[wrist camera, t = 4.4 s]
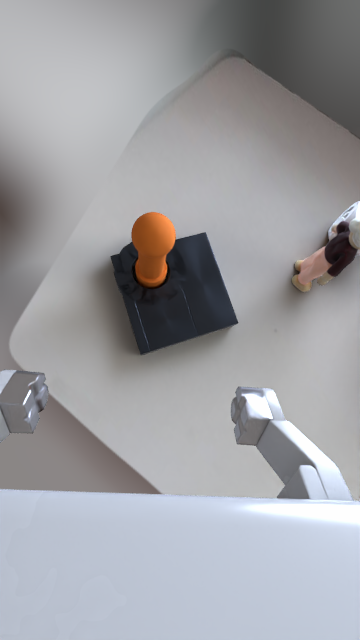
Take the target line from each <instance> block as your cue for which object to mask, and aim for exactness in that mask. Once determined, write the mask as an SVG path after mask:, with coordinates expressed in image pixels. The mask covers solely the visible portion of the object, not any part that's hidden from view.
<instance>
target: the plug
mask: <svg viewBox="0 0 360 640" xmlns="http://www.w3.org/2000/svg"><path fill="white" fill-rule="evenodd" d="M175 238H176V234H175V229H174V226H173V224H172V222H171V221H170V220H169V219H168V218H167V217H166V216H164V215H162V214H160V213H156V212H150V213H146V214H144V215H142V216H140V217H139V218H138V219H137V220H136V222H135V223H134V225H133V228H132V241H133V244H134V246H135V248H136V249H137V251H138V258H139V259H138V260H137V262H136V266H135V269H136V279H137V282H138V284H139V285H140V286H142V287H144V288H146V289H156V288H159V287H161V286H162V285H163V283H164V281H165V277H166V273H167V265H166V262H165V260H166V255H167V254H168V253H169V252H170V250H171V249H172V248H173V246H174V243H175Z"/></svg>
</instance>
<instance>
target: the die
mask: <svg viewBox="0 0 360 640" xmlns="http://www.w3.org/2000/svg"><path fill="white" fill-rule="evenodd" d="M359 217H360V201H359V202H356V203H355V204H353V205H352V206H351V207H349V208H348V209H347V210H346V211H345V212H344V213H343V214H342V215H341V216H340V217H339V218H338V219H337V220H336V221H335V222H334V224H338V223H340V222H341V221H347V222H349V223H350V222H351V220H353V219H354V218H359ZM334 224H333V225H334ZM333 225H332V226H333ZM332 226H331V227H332ZM331 227H330V229H329V232H328V234H329V240H331V239H333V238H334V237H335V236H337V233H333V232H332V231H331ZM357 255H360V250H359V249H358V251H357V253H356V256H357Z"/></svg>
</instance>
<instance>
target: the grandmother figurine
mask: <svg viewBox="0 0 360 640" xmlns="http://www.w3.org/2000/svg"><path fill="white" fill-rule="evenodd" d="M331 231H332V232H333V233H337V236H335V237H334V238H333V239H331V240H330V241H329V242H328V243H327V245H326V246H325V247H323V248H321V249H320V250H318V251H316V252H315V253H313V254H312V255H311V256H309V257H308V258H306V259H305V260H298V261H296V263H295V269H296V270H297V271H299V272H301V273H300V274H299V275H294V276H293V278H292V283H293V284H294V285H295V286H296V287H297V288H298V289H299V290H300V291H302V292H307V291H309V290H310V288H311V285H312V283H311V281H312V280H313V279H316V278H318V277H319V278H318V279H317V283H318V284H319V285H321V286H322V285H325V284H326V283H327V282H328V281H330V280H331V279H333V278H334V277H336V276H337V275H338V274H339V273H340V272H341V271H342V270H343V269H344V268H345V267H346V266H347V265H349V264H350V263H351V262H352V261H353V260H354V258H355V256H356V253H357V251H358V249H359V250H360V217H359V218H354V219H353V220H351V222H350V223H349V222H347V221H341V222H340V223H338V224H334V225H333V226H332V227H331ZM321 275H323V276H321ZM320 276H321V277H320Z"/></svg>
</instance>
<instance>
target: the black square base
mask: <svg viewBox="0 0 360 640" xmlns="http://www.w3.org/2000/svg"><path fill="white" fill-rule="evenodd" d="M111 259H112V263H113V266H114V269H115V270H114V275H115V278H116V282H117V285H118V288H119V291H120V293H121V294H122V295H123V299H124V302H125V305H126V308H127V312H128V315H129V318H130V321H131V325H132V328H133V331H134V334H135V338H136V341H137V344H138V347H139V351H140V354H141V355H144V354H147V353H150V352H153V351H156V350H159V349H163V348H166V347H169V346H172V345H175V344H178V343H181V342H184V341H187V340H190V339H194V338H197V337H200V336H203V335H206V334H209V333H212V332H215V331H218V330H221V329H225V328H228V327H231V326H234V325H236V324H238V321H237V318H236V315H235V312H234V310H233V307H232V304H231V301H230V298H229V296H228V293H227V290H226V287H225V285H224V282H223V279H222V276H221V273H220V271H219V268H218V265H217V262H216V260H215V257H214V254H213V251H212V249H211V246H210V243H209V240H208V237H207V235H206V232H205V233H201V234H197V235H193V236H189V237H185V238H181V239H177V240H175V243H174V246H173V248H172V249H171V250H170V252H169V253H168V254H167V255H166V260H165V262H166V265H167V272H168V275H169V276H168V280H167V282H166V283H165V284H164V285H163V286H161V287H160V288H156V289H146V288H144V287H142V286H140V285H138V283H137V282H136V281H135V280H134V277H133V270H134V269H135V266H136V262H137V260H138V259H139V258H138V251H137V249H136V248H135V246H134V244H133V241H132V242H131V243H130V244H128V245H127V246H125V247H124V248H123V249H122V250H121V252H120V254H117V255H113V256H111Z"/></svg>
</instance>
